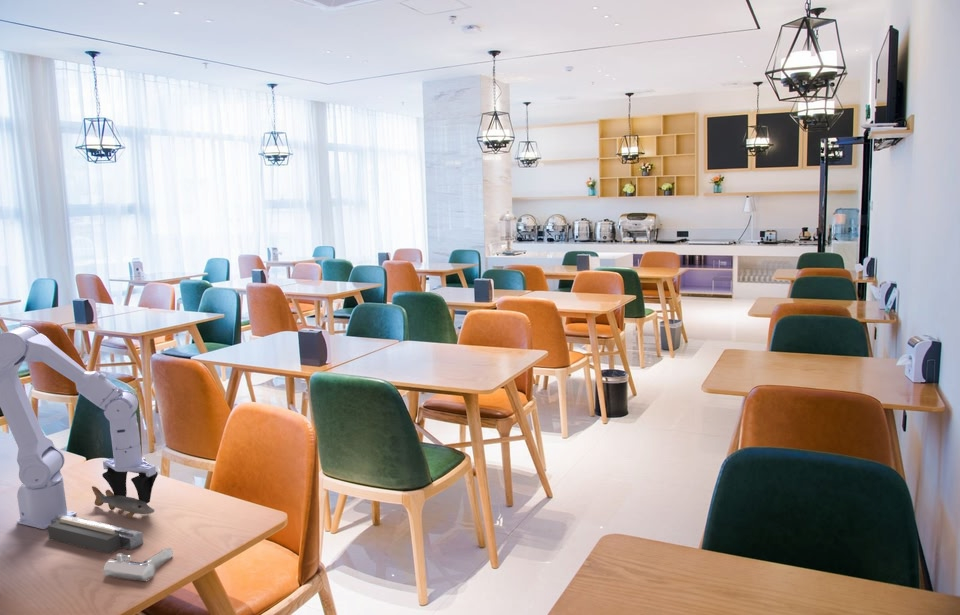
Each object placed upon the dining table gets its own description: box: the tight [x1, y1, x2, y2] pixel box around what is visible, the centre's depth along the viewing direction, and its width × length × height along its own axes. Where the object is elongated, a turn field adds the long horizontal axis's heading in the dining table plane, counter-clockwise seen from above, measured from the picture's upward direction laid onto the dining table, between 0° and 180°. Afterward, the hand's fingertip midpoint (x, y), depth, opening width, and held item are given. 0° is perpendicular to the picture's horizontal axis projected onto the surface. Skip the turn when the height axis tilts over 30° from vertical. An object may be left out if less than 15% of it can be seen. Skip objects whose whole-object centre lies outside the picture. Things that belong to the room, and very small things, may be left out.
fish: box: [91, 486, 155, 519], centre depth 160 cm, size 4×21×5 cm, turn 63°
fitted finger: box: [47, 518, 122, 555], centre depth 146 cm, size 18×3×4 cm, turn 66°
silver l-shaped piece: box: [103, 547, 174, 582], centre depth 136 cm, size 10×4×9 cm
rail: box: [51, 514, 144, 551], centre depth 149 cm, size 24×3×3 cm, turn 66°
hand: (133, 501), depth 162 cm, fingers open, 7 cm apart
